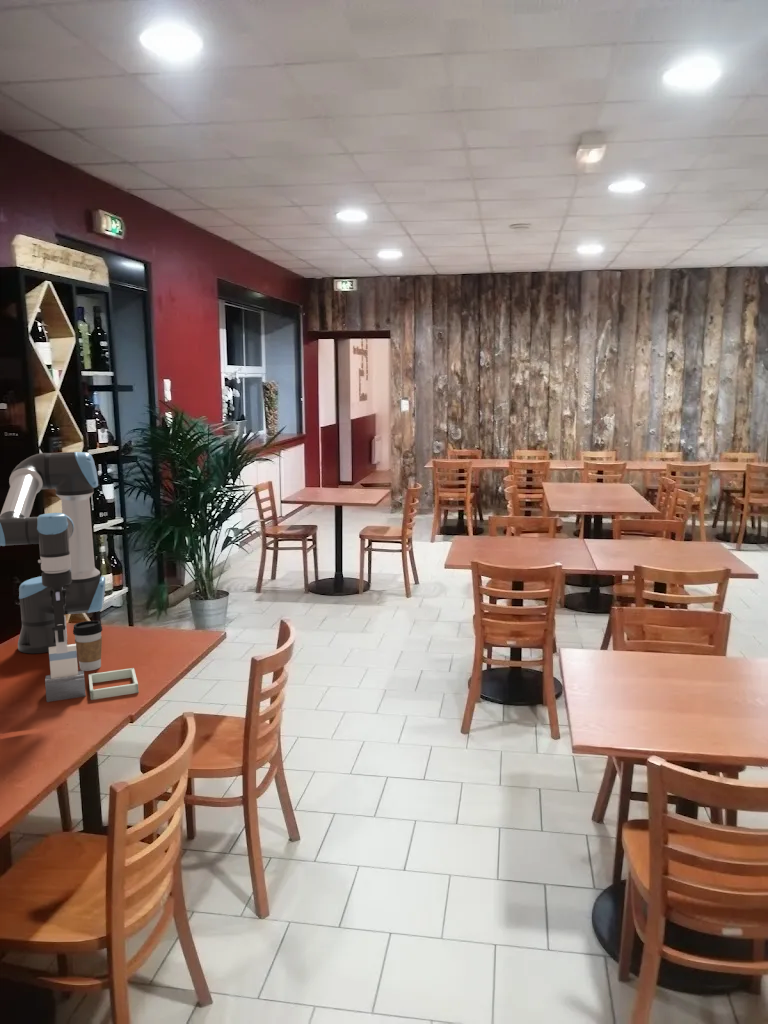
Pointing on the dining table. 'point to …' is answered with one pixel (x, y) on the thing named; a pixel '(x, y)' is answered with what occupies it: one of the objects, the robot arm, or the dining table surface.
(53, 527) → the robot arm
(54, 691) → the dispenser
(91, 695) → the tray
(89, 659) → the coffee cup
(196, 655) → the dining table surface
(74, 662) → the white striped flat box
